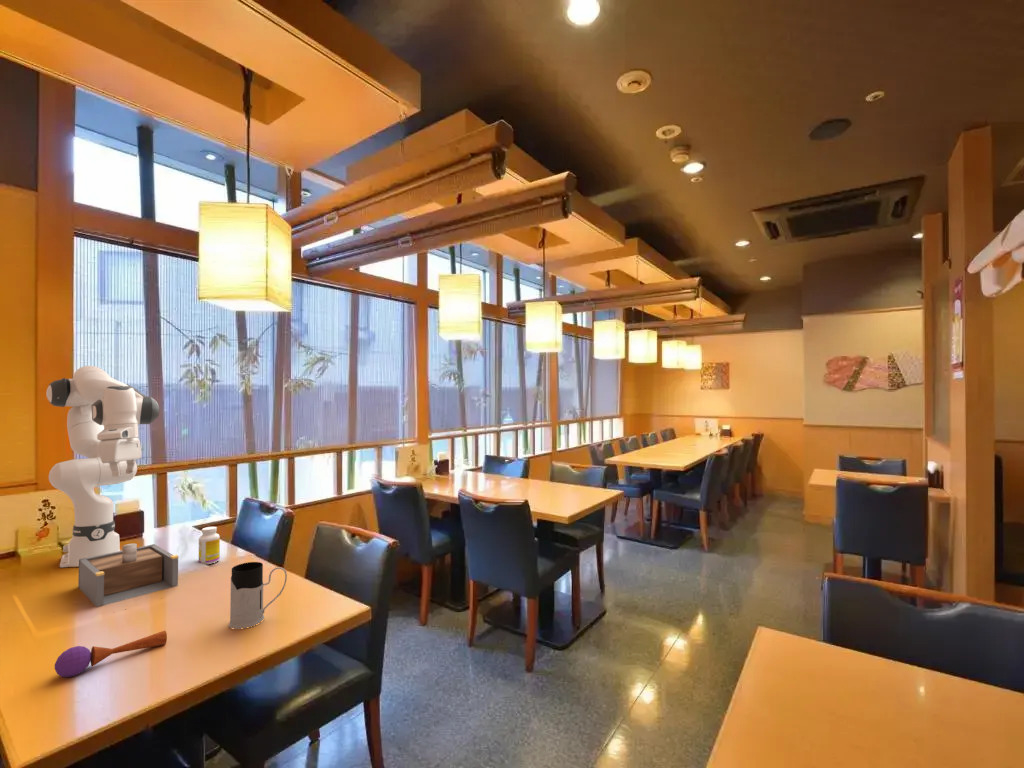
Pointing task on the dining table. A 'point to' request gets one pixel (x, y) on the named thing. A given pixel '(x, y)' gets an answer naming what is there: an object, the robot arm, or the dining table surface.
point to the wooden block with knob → (129, 569)
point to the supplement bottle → (209, 546)
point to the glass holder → (248, 594)
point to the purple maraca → (100, 654)
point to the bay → (94, 589)
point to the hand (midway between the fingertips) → (123, 475)
